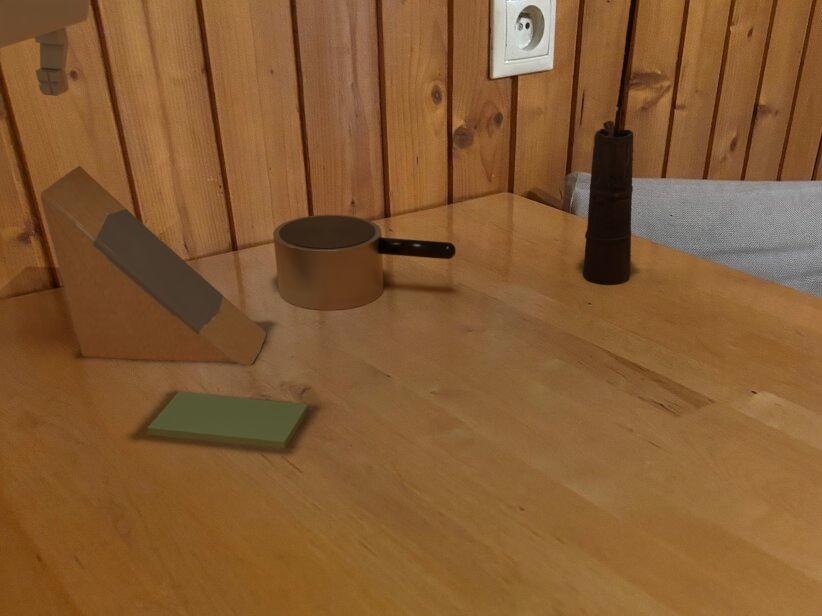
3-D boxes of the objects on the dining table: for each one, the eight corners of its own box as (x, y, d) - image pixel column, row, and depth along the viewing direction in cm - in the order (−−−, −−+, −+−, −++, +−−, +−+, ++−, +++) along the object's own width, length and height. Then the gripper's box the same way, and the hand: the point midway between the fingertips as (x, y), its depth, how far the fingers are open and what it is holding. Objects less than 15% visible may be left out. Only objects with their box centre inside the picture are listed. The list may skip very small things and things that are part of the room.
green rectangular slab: (139, 446, 74) (135, 430, 73) (174, 405, 79) (171, 389, 78) (285, 462, 73) (283, 445, 72) (311, 419, 78) (309, 402, 77)
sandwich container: (249, 372, 84) (226, 199, 75) (82, 366, 85) (37, 192, 75) (269, 332, 91) (250, 168, 81) (114, 326, 91) (77, 163, 82)
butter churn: (563, 254, 108) (589, -37, 91) (646, 261, 107) (689, -33, 89) (554, 283, 101) (580, -25, 84) (643, 291, 100) (688, -21, 82)
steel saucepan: (265, 305, 96) (258, 245, 92) (297, 267, 104) (292, 210, 100) (445, 320, 94) (445, 259, 90) (463, 280, 102) (464, 223, 98)
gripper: (13, -123, 73) (54, 76, 82) (-166, -110, 57) (-92, 134, 66) (88, -119, 72) (122, 82, 81) (-72, -104, 57) (-9, 142, 66)
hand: (25, 106), depth 74 cm, fingers open, 8 cm apart
